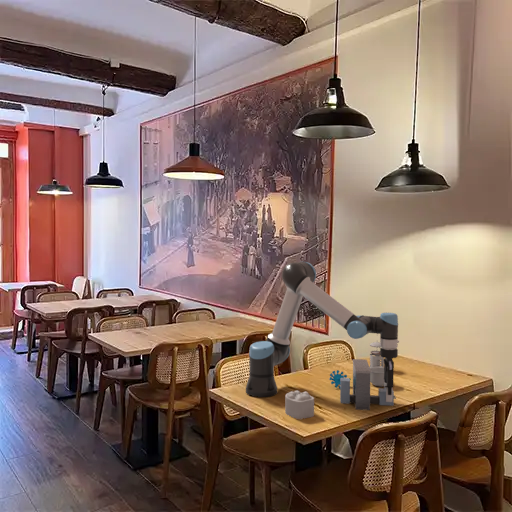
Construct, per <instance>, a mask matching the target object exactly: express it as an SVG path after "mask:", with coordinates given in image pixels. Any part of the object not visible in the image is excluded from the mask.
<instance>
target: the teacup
mask: <svg viewBox="0 0 512 512" xmlns="http://www.w3.org/2000/svg"><path fill="white" fill-rule="evenodd" d="M370 370H371V373H370V384H372V385H375V386H374V387H379V388H382V387H384V383H385V382H384V367H374V368H370Z"/></svg>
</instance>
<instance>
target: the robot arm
mask: <svg viewBox="0 0 512 512" xmlns="http://www.w3.org/2000/svg"><path fill="white" fill-rule="evenodd" d="M316 278H317V271H316V269H315V266H314V265H312V263H310V262H307V261H298V262H297V261H296V262H289V263H287V264H286V265H285V266H284V267H283V269H282V272H281V279H282V282H283V283H284V286H285V287H286V291H285V294H284V296H283V299H282V302H281V306H280V308H279V310H278V311H279V312H278V314H277V318H276V320H275V323H274V326H273V329H272V332H271V333H268V335H267V337H266V340H264V341H262V340H261V341H256V342H253V343H252V344H250V346H249V353H248V354H249V359H248V360H249V368H248V369H249V377H248V379H247V382H246V386H245V394H246V393H247V394H246V395H248V394H249V395H248V396H250V395H252V396H251V397H254V396H258V397H257V398H268V397H269V398H270V397H273V396H276V395H277V394H278V386H277V382H276V379H275V376H274V375H275V370H274V369H275V368H274V367H275V366H277V365H280V364H282V363H284V362H285V361H286V360H287V359H288V357H289V355H290V353H291V347H290V344H291V341H290V336H291V332H292V329H293V326H294V324H295V321H296V318H297V315H298V312H299V309H300V306H301V303H302V301H303V298H305V300H307V301H309V303H311V304H312V305H313V306H315V307H317V309H319V310H320V311H322V312H323V313H324V314H325V315H326V316H328V317H329V318H330V319H331V320H333V321H335V322H336V323H337V324H338V325H339V326H340V327H342V328H343V329H345V330H346V332H347V335H348V337H350V338H352V339H354V340H358V339H362V338H364V337H365V336H366V335H368V334H376V335H379V334H380V335H379V336H380V337H379V340H380V341H379V343H380V348H379V351H380V356H381V357H384V382H385V383H384V386H383V388H386V402H392V401H393V392H394V387H395V386H394V369H395V361H394V359H396V358H398V356H399V355H398V354H399V352H398V351H399V350H398V347H399V346H398V344H399V343H400V340H398V339H399V338H398V336H399V321H398V320H399V318H398V317H399V316H398V314H396V313H394V312H381V313H380V316H373V315H372V316H371V315H369V316H368V315H365V314H364V315H356V314H354V313H353V312H352V311H351V310H350V309H348V308H347V307H345V306H344V305H343V304H342V303H340V302H339V301H337V300H336V299H335V298H334V297H332V296H330V294H329V293H327V292H326V291H324V290H323V289H322V288H321V287H319V286H318V285H316V284H315V281H316Z"/></svg>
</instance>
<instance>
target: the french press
mask: <svg viewBox="0 0 512 512" xmlns="http://www.w3.org/2000/svg"><path fill="white" fill-rule="evenodd" d="M369 346H370V347H372V348H379V349H380V348H381V347H380V341H379V342H378V341H374V342H371V343H369ZM369 367H370V368H374V367H384V357H381V356H380V350H371V351H370V353H369Z"/></svg>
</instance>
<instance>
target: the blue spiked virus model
mask: <svg viewBox="0 0 512 512" xmlns="http://www.w3.org/2000/svg"><path fill="white" fill-rule="evenodd" d="M329 376H330V377H329V379H328V380H329V381H331V382H330V384H331V385H334V387H335V388H339V390H340V378H349V377H348V375H347V374H344V372H343V371H340V370H337V369H336V370H333V371H332V373H330V374H329ZM349 379H350V381H351V380H352V379H351V377H350V378H349Z"/></svg>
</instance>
